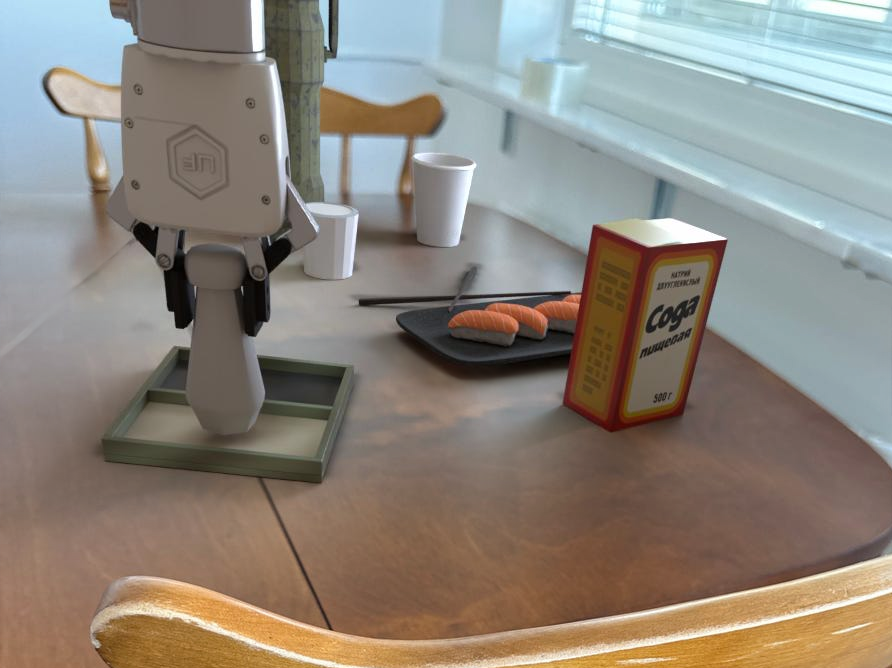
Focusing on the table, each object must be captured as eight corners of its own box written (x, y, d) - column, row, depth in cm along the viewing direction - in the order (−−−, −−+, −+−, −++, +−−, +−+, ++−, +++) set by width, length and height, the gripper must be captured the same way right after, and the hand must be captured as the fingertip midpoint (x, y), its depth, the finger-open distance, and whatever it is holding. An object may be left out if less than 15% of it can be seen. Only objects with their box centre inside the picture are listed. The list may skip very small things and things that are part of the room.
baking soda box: (634, 387, 91) (672, 213, 81) (683, 414, 87) (729, 234, 77) (562, 403, 86) (593, 220, 76) (610, 432, 82) (649, 242, 72)
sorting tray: (104, 461, 68) (100, 438, 67) (175, 365, 83) (173, 345, 82) (321, 483, 69) (321, 461, 68) (353, 384, 84) (354, 365, 83)
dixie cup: (394, 235, 125) (398, 153, 118) (441, 229, 129) (447, 150, 123) (434, 252, 120) (440, 168, 114) (481, 246, 125) (489, 165, 119)
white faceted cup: (368, 272, 111) (370, 209, 106) (337, 285, 106) (338, 220, 101) (319, 259, 113) (319, 197, 108) (286, 272, 107) (285, 207, 103)
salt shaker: (196, 404, 73) (180, 232, 66) (269, 409, 74) (262, 239, 66) (182, 437, 69) (164, 256, 61) (260, 442, 70) (252, 263, 62)
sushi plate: (458, 385, 86) (462, 345, 84) (317, 284, 105) (317, 249, 103) (682, 349, 101) (691, 314, 98) (523, 266, 119) (527, 235, 117)
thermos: (234, 226, 120) (217, -121, 99) (323, 226, 124) (324, -106, 103) (250, 246, 114) (234, -119, 92) (343, 246, 118) (348, -103, 97)
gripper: (34, 12, 52) (84, 331, 63) (331, 50, 53) (329, 358, 64) (81, 4, 58) (119, 297, 69) (348, 38, 59) (343, 322, 70)
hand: (220, 323), depth 67 cm, fingers closed on salt shaker, 4 cm apart
